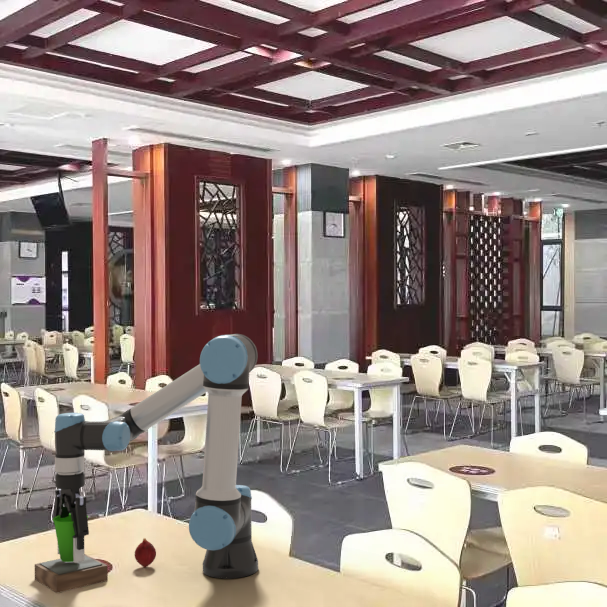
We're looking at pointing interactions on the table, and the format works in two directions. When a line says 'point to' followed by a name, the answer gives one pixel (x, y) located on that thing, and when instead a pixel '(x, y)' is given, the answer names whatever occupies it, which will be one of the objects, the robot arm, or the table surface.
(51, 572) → the flat stove
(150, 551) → the onion
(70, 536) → the cup
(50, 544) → the table surface
